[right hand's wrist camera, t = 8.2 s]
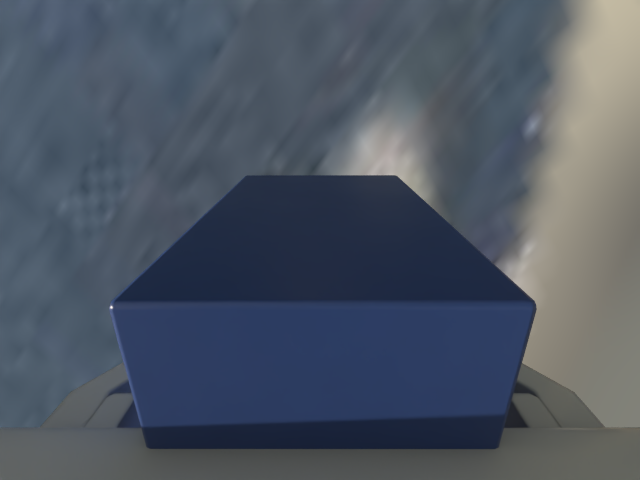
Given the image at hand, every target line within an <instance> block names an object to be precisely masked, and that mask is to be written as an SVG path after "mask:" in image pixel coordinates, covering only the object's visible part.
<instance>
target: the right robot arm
mask: <svg viewBox="0 0 640 480" xmlns="http://www.w3.org/2000/svg"><path fill="white" fill-rule="evenodd" d="M0 480H640V428H605V427H604V425H603V424H602V423H601V422H600V421H599V420H598V419H597V418H596V416H595V415H594V414H593V413H592V412H591V411H590V410H589V408H588V407H587V406H586V405H585V404H584V403H583V402H582V400H581V399H580V398H579V397H578V396H577V395H576V394H575V393H574V392H573V391H571V390H569V389H567V388H566V387H564V386H562V385H560V384H558V383H557V382H555V381H553V380H551V379H549V378H548V377H546V376H544V375H542V374H540V373H539V372H537V371H535V370H533V369H531V368H530V367H528V366H526V365H524V364H521V368H520V371H519V375H518V379H517V382H516V386H515V389H514V393H513V397H512V400H511V404H510V408H509V411H508V415H507V419H506V422H505V426H504V430H503V433H502V437H501V440H500V444H499V448H496V449H149V448H147V447H146V444H145V440H144V436H143V432H142V429H141V425H140V421H139V418H138V414H137V410H136V406H135V403H134V399H133V395H132V392H131V388H130V384H129V381H128V377H127V373H126V369H125V366H124V362H123V363H121V364H120V365H118V366H116V367H114V368H112V369H111V370H109V371H107V372H105V373H104V374H102V375H100V376H98V377H96V378H95V379H93V380H91V381H89V382H87V383H86V384H84V385H82V386H80V387H78V388H77V389H75V390H73V391H71V392H70V393H69V395H68V396H67V397H66V398H65V399H64V400H63V401H62V403H61V404H60V405H59V406H58V407H57V408H56V409H55V411H54V412H53V413H52V414H51V415H50V416H49V417H48V419H47V420H46V421H45V422H44V423H43V424H42V425H41V427H40V428H0Z"/></svg>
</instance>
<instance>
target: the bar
mask: <svg viewBox="0 0 640 480" xmlns="http://www.w3.org/2000/svg"><path fill="white" fill-rule="evenodd" d="M109 310H110V314H111V318H112V321H113V325H114V329H115V332H116V336H117V340H118V344H119V347H120V351H121V355H122V358H123V362H124V366H125V369H126V373H127V377H128V381H129V384H130V388H131V392H132V395H133V399H134V403H135V406H136V410H137V414H138V418H139V421H140V425H141V429H142V432H143V436H144V440H145V444H146V447H147V448H149V449H496V448H499V444H500V440H501V437H502V433H503V430H504V426H505V422H506V419H507V415H508V411H509V408H510V404H511V400H512V397H513V393H514V389H515V386H516V382H517V379H518V375H519V371H520V368H521V364H522V360H523V357H524V353H525V349H526V346H527V342H528V339H529V335H530V331H531V328H532V324H533V320H534V317H535V313H536V304H535V301H534V300H533V299H532V298H530V297H529V296H528V295H527V294H526V293H525V292H524V291H523V290H522V289H521V288H519V287H518V286H517V285H516V284H515V283H514V282H513V281H512V280H511V279H510V278H508V277H507V276H506V275H505V274H504V273H503V272H502V271H501V270H500V269H499V268H497V267H496V266H495V265H494V264H493V263H492V262H491V261H490V260H489V259H488V258H486V257H485V256H484V255H483V254H482V253H481V252H480V251H479V250H478V249H477V248H475V247H474V246H473V245H472V244H471V243H470V242H469V241H468V240H467V239H466V238H464V237H463V236H462V235H461V234H460V233H459V232H458V231H457V230H456V229H455V228H453V227H452V226H451V225H450V224H449V223H448V222H447V221H446V220H445V219H444V218H442V217H441V216H440V215H439V214H438V213H437V212H436V211H435V210H434V209H433V208H431V207H430V206H429V205H428V204H427V203H426V202H425V201H424V200H423V199H422V198H420V197H419V196H418V195H417V194H416V193H415V192H414V191H413V190H412V189H411V188H409V187H408V186H407V185H406V184H405V183H404V182H403V181H402V180H401V179H400V178H398V177H397V176H395V175H384V176H245V177H244V178H243V179H242V180H241V181H240V182H239V183H238V184H237V185H235V186H234V187H233V188H232V189H231V190H230V191H229V192H228V193H227V194H226V195H225V196H224V197H223V198H222V199H220V200H219V201H218V202H217V203H216V204H215V205H214V206H213V207H212V208H211V209H210V210H209V211H208V212H207V213H205V214H204V215H203V216H202V217H201V218H200V219H199V220H198V221H197V222H196V223H195V224H194V225H193V226H192V227H190V228H189V229H188V230H187V231H186V232H185V233H184V234H183V235H182V236H181V237H180V238H179V239H178V240H177V241H175V242H174V243H173V244H172V245H171V246H170V247H169V248H168V249H167V250H166V251H165V252H164V253H163V254H162V255H160V256H159V257H158V258H157V259H156V260H155V261H154V262H153V263H152V264H151V265H150V266H149V267H148V268H147V269H146V270H144V271H143V272H142V273H141V274H140V275H139V276H138V277H137V278H136V279H135V280H134V281H133V282H132V283H131V284H129V285H128V286H127V287H126V288H125V289H124V290H123V291H122V292H121V293H120V294H119V295H118V296H117V297H116V298H114V299H113V300H112V301H111V303H110V308H109Z"/></svg>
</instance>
